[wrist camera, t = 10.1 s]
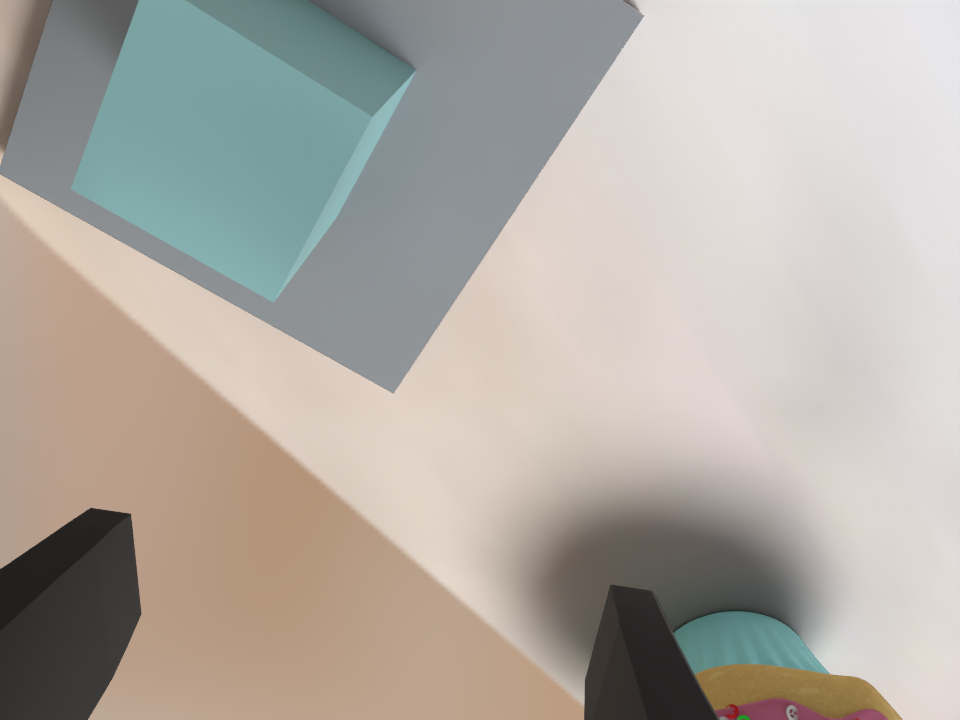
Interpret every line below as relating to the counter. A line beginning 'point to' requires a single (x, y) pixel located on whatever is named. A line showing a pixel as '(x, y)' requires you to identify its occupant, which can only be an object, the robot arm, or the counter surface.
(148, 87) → the teal block
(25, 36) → the counter surface
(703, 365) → the counter surface
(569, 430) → the counter surface
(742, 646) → the cupcake
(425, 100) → the slate coaster
